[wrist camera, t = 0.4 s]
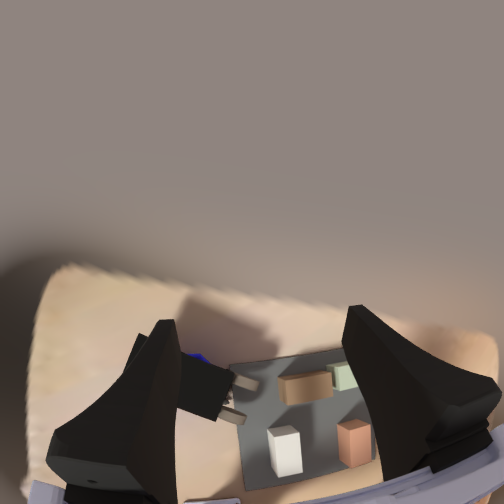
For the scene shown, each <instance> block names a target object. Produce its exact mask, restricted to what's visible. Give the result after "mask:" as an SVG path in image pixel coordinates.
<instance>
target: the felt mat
mask: <svg viewBox="0 0 504 504" xmlns="http://www.w3.org/2000/svg"><path fill="white" fill-rule="evenodd" d="M344 361H347V359H346V356H345V353H344V349H343V348H342V349H336V350H331V351H325V352H320V353H314V354H308V355H301V356H295V357H288V358H281V359H274V360H267V361H259V362H250V363H242V364H232V365H230V370H231V371H232V372H234V373H237V374H240V375H243V376H246V377H248V378H251V379H254V380H256V381H259V382H260V383H259V386H258V388H257V391H253V390H249V389H246V388H243V387H241V386H238V385H235V384H234V385H232V391H233V399H234V407H235V410H237V411H239V412H242V413H244V414H246V415H247V418H246V421H245V423H244V425H237V431H238V439H239V447H240V454H241V461H242V469H243V476H244V483H245V490H246V491H250V490H257V489H263V488H268V487H274V486H279V485H284V484H289V483H294V482H298V481H302V480H307V479H311V478H315V477H319V476H322V475H326V474H330V473H333V472H337V471H340V470H343V469H347V468H350V467H349V466H347V465H346V464H344V463H343V462H342V461H340V460H339V446H338V430H337V424H340V423H343V422H347V421H351V420H354V419H359V420H361V421H363V422H366V423H368V424H370V428H371V460H374V459H375V433H374V429H373V425H372V422H371V418H370V415H369V411H368V408H367V406H366V403H365V400H364V398H363V396H362V394H361V391H360V389H359V387H355V388H351V389H347V390H342V391H339V390H335V389H333V397H328V398H324V399H319V400H314V401H309V402H304V403H299V404H294V405H286V404H285V403H284V402H282V401H281V400H280V398H279V389H278V380H277V377H281V376H287V375H294V374H300V373H305V372H311V371H317V370H322V371H327V370H326V365H329V364H335V363H340V362H344ZM287 425H291V426H292V427H293V428H295V429H296V430H297V431H298V432H299V434H300V445H301V457H302V469H303V472H302V473H298V474H293V475H289V476H284V477H279V478H278V476H277V475H276V473H275V472H274V470H273V468H272V467H271V459H270V450H269V441H268V433H267V429H270V428H276V427H281V426H287Z"/></svg>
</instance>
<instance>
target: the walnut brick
mask: <svg viewBox="0 0 504 504" xmlns="http://www.w3.org/2000/svg"><path fill="white" fill-rule="evenodd" d="M277 380H278V389H279V398H280V400H281V401H282V402H284V403H285V404H286V405H294V404H299V403H304V402H309V401H314V400H319V399H324V398H328V397H333V386H332V375H331V372H327V371H322V370H317V371H311V372H305V373H300V374H294V375H287V376H281V377H277Z"/></svg>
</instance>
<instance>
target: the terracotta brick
mask: <svg viewBox="0 0 504 504" xmlns="http://www.w3.org/2000/svg"><path fill="white" fill-rule="evenodd" d="M337 430H338V446H339V460H340V461H342V462H343V463H344V464H346V465H347V466H349V467H350V468H354V467H357V466H360V465H363V464H366V463H369V462H371V428H370V424H368V423H366V422H363V421H361V420H359V419H354V420H351V421H347V422H343V423H340V424H337Z"/></svg>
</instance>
